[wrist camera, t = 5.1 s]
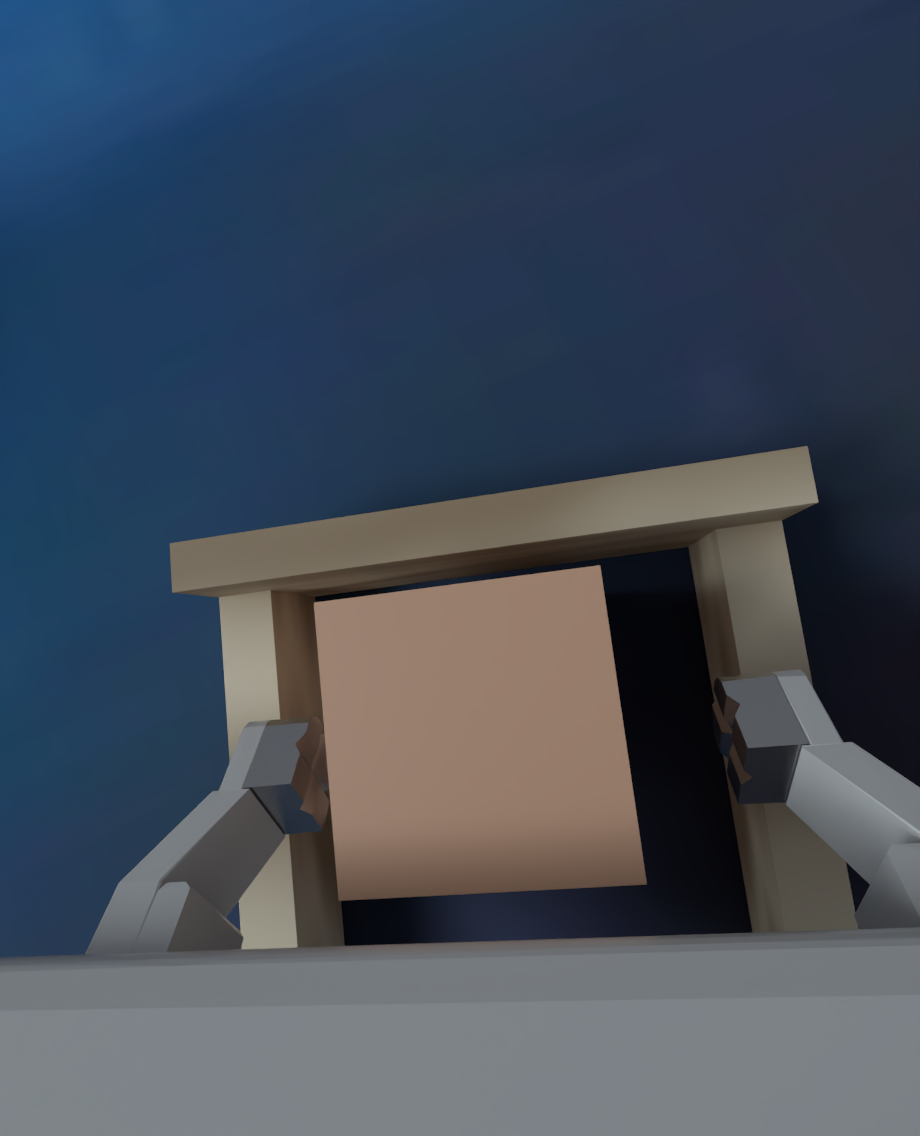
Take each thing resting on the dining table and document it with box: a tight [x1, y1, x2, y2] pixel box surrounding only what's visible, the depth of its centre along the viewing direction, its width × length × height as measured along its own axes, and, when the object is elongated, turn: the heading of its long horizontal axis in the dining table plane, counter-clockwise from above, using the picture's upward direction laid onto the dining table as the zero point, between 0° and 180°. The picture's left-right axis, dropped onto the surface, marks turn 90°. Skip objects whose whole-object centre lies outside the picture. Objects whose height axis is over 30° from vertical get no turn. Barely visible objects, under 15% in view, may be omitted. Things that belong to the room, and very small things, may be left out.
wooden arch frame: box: [170, 446, 858, 949], centre depth 15 cm, size 13×14×5 cm
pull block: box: [314, 565, 647, 901], centre depth 14 cm, size 5×5×8 cm
